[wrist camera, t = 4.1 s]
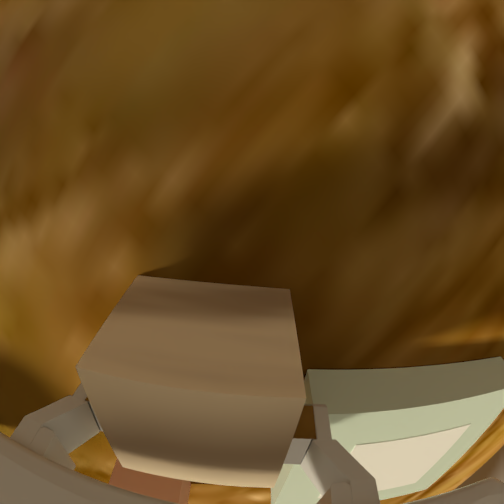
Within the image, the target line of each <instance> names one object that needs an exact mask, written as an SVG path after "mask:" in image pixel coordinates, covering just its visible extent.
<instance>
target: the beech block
mask: <svg viewBox="0 0 504 504" xmlns="http://www.w3.org/2000/svg"><path fill="white" fill-rule="evenodd" d="M76 369H77V372H78V375H79V377H80V380H81V382H82V385H83V387H84V390H85V392H86V394H87V397H88V399H89V401H90V404H91V406H92V408H93V410H94V413H95V415H96V417H97V419H98V421H99V423H100V425H101V427H102V430H103V432H104V434H105V436H106V437H107V439H108V441H109V443H110V445H111V447H112V449H113V451H114V453H115V454H116V456H117V458H118V460H119V462H120V463H121V465H122V467H124V468H128V469H132V470H136V471H140V472H145V473H149V474H154V475H158V476H164V477H169V478H174V479H180V480H186V481H193V482H200V483H208V484H218V485H228V486H242V487H266V488H274V486H275V484H276V481H277V479H278V476H279V474H280V471H281V469H282V466H283V463H284V461H285V458H286V456H287V453H288V450H289V447H290V445H291V442H292V439H293V436H294V433H295V430H296V428H297V425H298V422H299V419H300V416H301V413H302V410H303V407H304V403H305V400H306V392H305V385H304V378H303V371H302V364H301V357H300V351H299V344H298V337H297V331H296V325H295V318H294V312H293V306H292V300H291V293H290V289H282V288H268V287H256V286H243V285H231V284H220V283H209V282H198V281H188V280H178V279H168V278H158V277H149V276H140V275H138V276H137V277H136V278H135V280H134V281H133V283H132V284H131V285H130V287H129V288H128V289H127V291H126V292H125V294H124V295H123V296H122V298H121V299H120V301H119V302H118V304H117V305H116V306H115V308H114V309H113V311H112V312H111V314H110V315H109V317H108V318H107V319H106V321H105V322H104V324H103V325H102V327H101V328H100V330H99V331H98V333H97V334H96V336H95V337H94V339H93V340H92V342H91V343H90V345H89V346H88V348H87V350H86V351H85V353H84V354H83V356H82V357H81V359H80V361H79V362H78V364H77V365H76Z"/></svg>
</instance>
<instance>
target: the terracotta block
mask: <svg viewBox="0 0 504 504" xmlns="http://www.w3.org/2000/svg"><path fill="white" fill-rule="evenodd" d="M109 484H110V485H113V486H116V487H119V488H122V489H125V490H128V491H131V492H135V493H138V494H142V495H145V496H149V497H153V498H157V499H161V500H165V501H170V502H174V503H179V504H188V498H189V492H190V486H191V482H190V481H186V480H180V479H174V478H169V477H164V476H158V475H154V474H149V473H145V472H140V471H136V470H132V469H128V468H124V467H122V465H121V463H120V462H119V460H118V458H117V460H116V463H115V466H114V469H113V472H112V475H111V478H110V481H109Z"/></svg>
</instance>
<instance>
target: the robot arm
mask: <svg viewBox="0 0 504 504" xmlns="http://www.w3.org/2000/svg"><path fill="white" fill-rule="evenodd" d="M100 431H103V430H102V427H101V425H100V423H99V421H98V419H97V417H96V415H95V413H94V410H93V408H92V406H91V404H90V401H89V399H88V397H87V394H86V392H85V390H84V387H83V385H82V382H81V384H80V385H79V387H78V388H77V390H76V391H75V393H74V395H73V396H70V395H69V396H67V397H65V398H62V399H60V400H58V401H56V402H54V403H52V404H50V405H48V406H45V407H43V408H41V409H39V410H37V411H35V412H32V413H30V414H28V415H26V416H24V418H23V419H22V421H21V422H20V424H19V425H18V427H17V428H16V430H15V431H14V433H13V434H12V436H11V437H10V438H9V437H8V436H6V435H4V434H3V433H1V432H0V504H179V503H174V502H170V501H165V500H161V499H157V498H153V497H149V496H145V495H142V494H138V493H135V492H131V491H128V490H125V489H122V488H119V487H116V486H113V485H110V484H107V483H104V482H101V481H99V480H96V479H93V478H91V477H88V476H86V475H83V474H81V473H78V472H76V471H74V468H75V464H74V462H73V461H72V459H71V458H70V456H69V455H68V454H69V453H70V452H72V451H73V450H75V449H76V448H77V447H79V446H80V445H82V444H83V443H85V442H86V441H87V440H89V439H90V438H92V437H93V436H95V435H96V434H97V433H99V432H100ZM283 464H299V465H300V466H301V467H302V469H303V470H304V472H305V473H306V475H307V476H308V477H309V479H310V480H311V482H312V483H313V484H314V486H315V487H316V488H317V490H318V491H319V492H320V494H321V495H322V497H321V499H320V500H319V501H318V502H317V503H316V504H380V500H379V495H378V490H377V485H376V480H375V478H374V477H373V476H372V475H371V474H370V473H369V472H368V471H367V470H366V469H365V468H364V467H363V466H362V465H361V464H360V463H359V462H358V461H357V460H356V459H355V458H354V457H353V456H352V455H351V454H350V453H349V452H348V451H347V450H346V449H345V448H344V447H343V446H342V445H341V444H340V443H339V442H338V441H337V440H335V439H332V435H331V428H330V422H329V415H328V409H327V406H326V404H304V407H303V410H302V413H301V416H300V419H299V422H298V425H297V428H296V430H295V433H294V436H293V439H292V442H291V445H290V447H289V450H288V453H287V456H286V458H285V461H284V463H283ZM404 504H504V483H503V482H502V481H500V480H498V479H496V478H493V477H490V478H486V479H483V480H481V481H478V482H476V483H473V484H470V485H468V486H465V487H462V488H459V489H456V490H453V491H449V492H446V493H443V494H439V495H436V496H432V497H429V498H425V499H421V500H417V501H413V502H408V503H404Z"/></svg>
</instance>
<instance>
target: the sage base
mask: <svg viewBox="0 0 504 504" xmlns="http://www.w3.org/2000/svg"><path fill="white" fill-rule="evenodd" d="M304 385H305V392H306V400H305V403H304V404H326V406H327V409H328V415H329V422H330V428H331V435H332V439H335V440H337V441H338V442H339V443H340V444H341V445H342V446H343V447H344V448H345V449H346V450H347V451H348V452H349V453H350V454H351V455H352V456H353V457H354V458H355V459H356V460H357V461H358V462H359V463H360V464H361V465H362V466H363V467H364V468H365V469H366V470H367V471H368V472H369V473H370V474H371V475H372V476H373V477H374V478H375V480H376V485H377V490H378V495H379V500H383V499H388V498H393V497H397V496H402V495H406V494H410V493H414V492H417V491H421V490H425V489H427V488H428V487H429V486H430V485H432V484H433V483H434V482H435V481H436V480H437V479H438V478H439V477H441V476H442V475H443V474H444V473H445V472H446V471H447V470H448V469H449V468H450V467H451V466H452V465H453V464H454V463H455V462H456V461H457V460H458V459H459V458H460V457H461V456H462V455H463V454H464V453H465V452H466V451H467V450H468V449H469V448H470V447H471V446H472V445H473V444H474V443H475V442H476V440H477V439H478V438H479V437H480V436H481V435H482V434H483V433H484V431H485V430H486V429H487V428H488V427H489V426H490V424H491V423H492V422H493V421H494V419H495V418H496V417H497V416H498V414H499V413H500V412H501V411H502V409H503V408H504V360H503V359H502V357H501V356H500V357H494V358H488V359H482V360H475V361H467V362H459V363H451V364H442V365H431V366H420V367H406V368H388V369H356V370H319V369H307V373H306V376H305V380H304ZM321 497H322V495H321V494H320V492H319V491H318V490H317V488H316V487H315V486H314V484H313V483H312V482H311V480H310V479H309V477H308V476H307V475H306V473H305V472H304V470H303V469H302V467H301V466H300V465H299V464H283V466H282V469H281V471H280V474H279V476H278V479H277V481H276V484H275V486H274V488H271V504H316V503H317V502H318V501H319V500H320V499H321Z"/></svg>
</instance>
